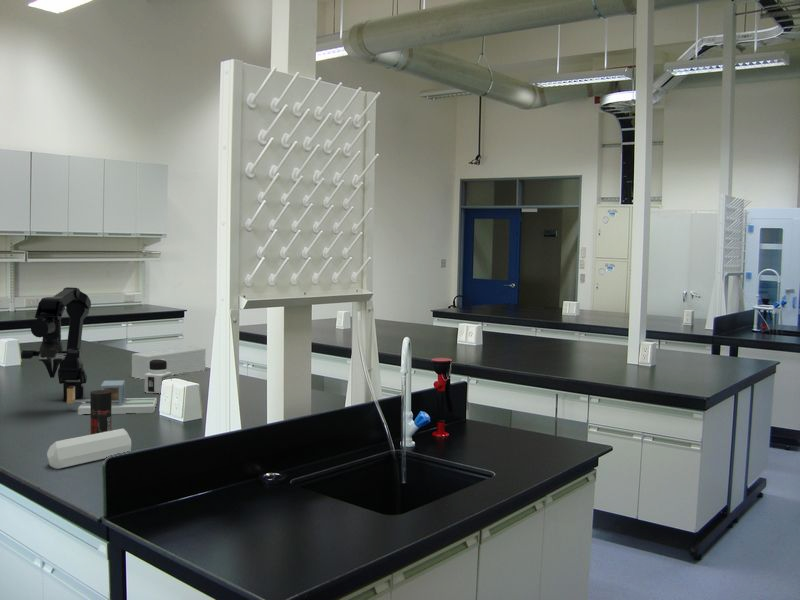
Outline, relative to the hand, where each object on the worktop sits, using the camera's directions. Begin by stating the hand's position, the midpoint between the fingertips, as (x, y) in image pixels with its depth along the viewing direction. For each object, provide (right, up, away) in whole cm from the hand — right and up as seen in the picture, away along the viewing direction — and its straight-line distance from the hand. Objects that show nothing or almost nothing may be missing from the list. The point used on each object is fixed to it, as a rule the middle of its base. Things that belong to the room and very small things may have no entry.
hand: (52, 377), depth 254 cm
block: (+19, -8, +6) cm, 22 cm away
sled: (+14, -9, +5) cm, 17 cm away
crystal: (+35, -18, -50) cm, 64 cm away
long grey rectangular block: (+18, -7, +74) cm, 77 cm away
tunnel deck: (+21, -12, +7) cm, 26 cm away
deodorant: (+30, -16, -32) cm, 47 cm away
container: (+25, -10, +37) cm, 46 cm away
